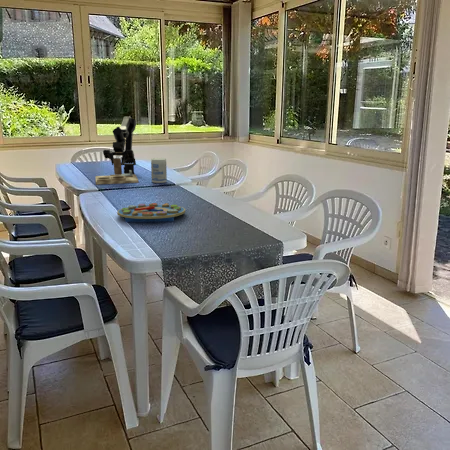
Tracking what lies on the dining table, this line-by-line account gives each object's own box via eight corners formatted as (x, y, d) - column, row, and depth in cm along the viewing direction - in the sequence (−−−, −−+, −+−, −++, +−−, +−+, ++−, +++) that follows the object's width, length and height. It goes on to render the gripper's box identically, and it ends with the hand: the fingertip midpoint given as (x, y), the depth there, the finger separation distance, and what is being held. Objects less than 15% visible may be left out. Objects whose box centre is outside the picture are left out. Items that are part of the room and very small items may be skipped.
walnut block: (121, 172, 282) (120, 158, 279) (121, 174, 278) (120, 159, 275) (114, 173, 281) (113, 158, 278) (114, 174, 277) (113, 159, 274)
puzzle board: (135, 176, 299) (135, 172, 298) (138, 182, 279) (138, 177, 278) (95, 178, 292) (95, 173, 291) (95, 184, 272) (95, 179, 271)
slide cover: (131, 174, 297) (131, 169, 296) (132, 176, 290) (132, 171, 289) (121, 175, 295) (120, 170, 294) (121, 176, 288) (121, 171, 287)
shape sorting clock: (187, 208, 217) (186, 196, 215) (183, 226, 188) (183, 212, 186) (124, 208, 216) (123, 196, 214) (111, 226, 187) (110, 212, 185)
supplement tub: (152, 183, 276) (151, 160, 272) (150, 181, 284) (149, 158, 280) (168, 182, 279) (167, 159, 274) (165, 180, 287) (164, 157, 283)
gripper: (102, 136, 277) (98, 156, 269) (132, 137, 276) (129, 157, 269) (106, 148, 286) (103, 167, 279) (135, 148, 286) (132, 167, 279)
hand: (117, 164), depth 276 cm, fingers closed on walnut block, 5 cm apart
